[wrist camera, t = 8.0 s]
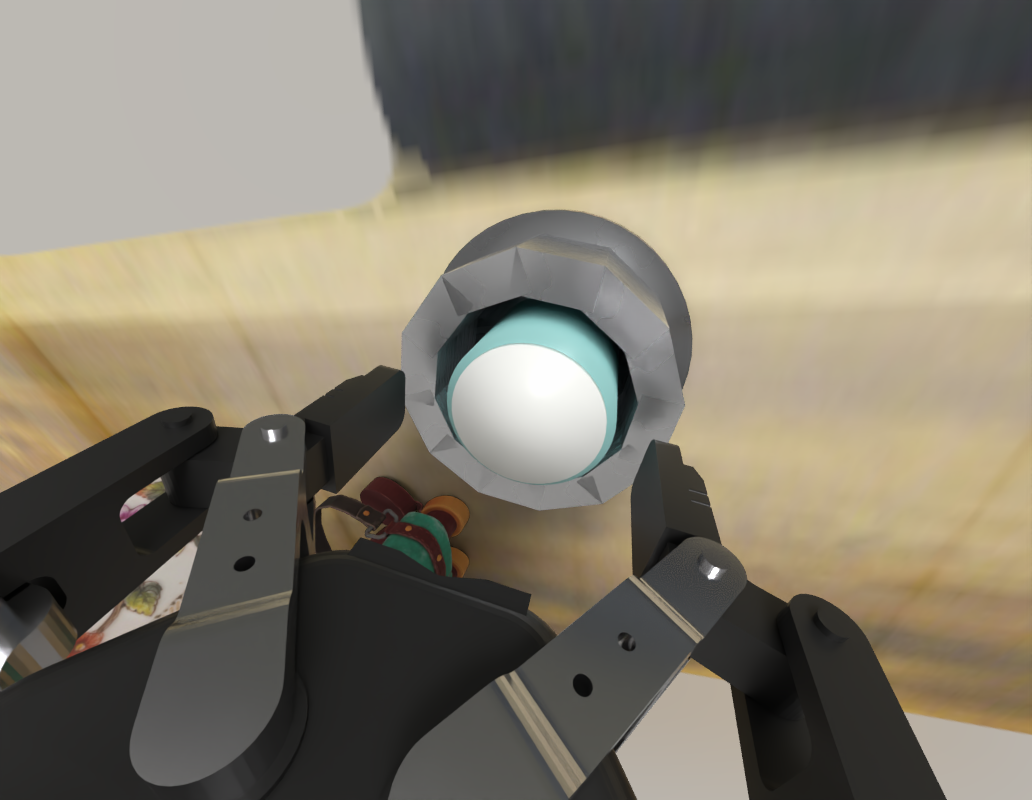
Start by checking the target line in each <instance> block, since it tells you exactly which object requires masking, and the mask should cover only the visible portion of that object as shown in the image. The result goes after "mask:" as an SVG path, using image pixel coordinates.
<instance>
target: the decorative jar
mask: <svg viewBox="0 0 1032 800" xmlns="http://www.w3.org/2000/svg"><path fill="white" fill-rule="evenodd" d="M164 492H166V490H165V488H164V485H163V483H162V480H161V478H158V479H157V480H155V481H154V482H152V483H151V484H149V485H148V486H146V487H145V488H143V489H142V490H140V491H139V492H137V493H136V494H134V495H133V496H131V497H130V498H129V499H128V500H127V501H126V502H125V503H124V505H123V507H122V509H121V511H120V519H121V522H123V521H124V520H126V519H127V518H129V517H130V516H132V515H133V514H134V513H136V512H137V511H139V510H140V509H142V508H143V507H144V506H146V505H147V504H149V503H150V502H151V501H153V500H154V499H156V498H157V497H159V496H160V495H161V494H163V493H164ZM201 534H202V532H200V533H199V534H198V535H197V536H196V537H195V538H194V539H192V540H191V541H190V542H189V543H188V544H187V545H186V546H184V547H183V548H182V549H181V550H180V551H179V552H177V553H176V554H175V555H174V556H173V557H172V558H171V559H169V560H168V561H167V562H166V563H165V564H164V565H162V566H161V567H160V568H159V569H158V570H157V571H156V572H154V573H153V574H152V575H151V576H150V577H149V578H148V579H146V580H145V581H144V582H143V583H142V584H141V585H139V586H138V587H137V588H136V589H135V590H134V591H133V592H131V593H130V594H129V595H128V596H127V597H126V598H125V599H123V600H122V601H121V602H120V603H119V604H118V605H116V606H115V607H114V608H113V609H112V610H111V611H110V612H108V613H107V614H106V615H105V616H104V617H103V618H102V619H100V620H99V621H98V622H97V623H96V624H95V625H93V626H92V627H91V628H90V629H89V630H88V631H87V632H85V633H84V634H83V635H82V636H81V637H80V638H78V639H77V640H76V643H75V645H74V648H73V649H72V651H71V653H70V654H69V655H68V657H67V658H69V657H71V656H73V655H76V654H78V653H80V652H83V651H85V650H87V649H90V648H92V647H94V646H97V645H99V644H101V643H104V642H106V641H108V640H111V639H113V638H115V637H118V636H120V635H122V634H124V633H127V632H129V631H131V630H134V629H136V628H138V627H141V626H143V625H145V624H148V623H150V622H152V621H155V620H157V619H159V618H162V617H164V616H166V615H169V614H171V613H173V612H176V611H178V610H180V606H181V603H182V599H183V596H184V592H185V589H186V586H187V582H188V579H189V575H190V572H191V568H192V565H193V562H194V558H195V555H196V551H197V548H198V544H199V541H200V538H201Z"/></svg>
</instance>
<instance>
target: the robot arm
mask: <svg viewBox="0 0 1032 800" xmlns="http://www.w3.org/2000/svg"><path fill="white" fill-rule="evenodd" d="M405 382H406V378H405V373H404V372H403V371H401V370H398V369H394V368H390V367H386V366H383V365H380V366H378V367H376V368H375V369H373V370H372V371H371V372H369V373H368V374H366V375H365V376H363V375H361V376H358V377H354V378H351V379H348V380H346V381H344V382H343V383H341V384H340V385H338V386H337V387H335V389H332V390H331V391H329V392H328V393H326V395H325V396H322V397H320V398H319V399H317V400H316V401H314V402H313V403H311V404H310V405H308V406H307V407H305V408H304V409H303V410H301V411H300V412H298V413H297V414H295V415H294V416H293V415H288V414H274V415H268V416H264V417H260V418H258V419H255V420H253V421H251V422H250V423H248V424H247V425H246V426H245V427H244V428H234V427H219V426H216V424H215V421H214V417H213V414H212V413H211V412H210V411H209V410H207V409H204V408H200V407H179V408H173V409H168V410H165V411H162V412H159V413H156V414H154V415H152V416H150V417H148V418H146V419H144V420H142V421H140V422H138V423H136V424H134V425H133V426H131V427H129V428H127V429H125V430H123V431H121V432H119V433H117V434H115V435H113V436H111V437H109V438H107V439H105V440H103V441H101V442H99V443H97V444H95V445H93V446H91V447H89V448H87V449H86V450H84V451H82V452H80V453H78V454H76V455H74V456H72V457H70V458H68V459H66V460H64V461H62V462H60V463H58V464H56V465H54V466H52V467H50V468H48V469H46V470H44V471H42V472H40V473H39V474H37V475H35V476H33V477H31V478H29V479H27V480H25V481H23V482H21V483H19V484H17V485H15V486H13V487H11V488H9V489H7V490H5V491H3V492H1V493H0V800H637V798H636V796H635V794H634V792H633V790H632V788H631V785H630V783H629V781H628V779H627V777H626V775H625V772H624V770H623V768H622V766H621V764H620V762H619V759H618V757H617V755H616V752H617V751H618V749H619V748H620V747H621V746H622V744H623V743H624V742H625V741H626V739H627V738H628V737H629V736H630V734H631V733H632V732H633V730H634V729H635V728H636V727H637V725H638V724H639V723H640V722H641V720H642V719H643V718H644V716H645V715H646V714H647V713H648V711H649V710H650V709H651V708H652V706H653V705H654V704H655V703H656V701H657V700H658V699H659V698H660V696H661V695H662V694H663V693H664V691H665V690H666V689H667V688H668V686H669V685H670V684H671V683H672V681H673V680H674V679H675V678H676V676H677V675H678V674H679V673H680V672H681V670H682V669H683V668H684V667H685V665H686V664H687V663H688V662H689V660H690V659H691V658H693V659H694V660H696V661H697V662H699V663H700V664H702V665H703V666H704V667H706V668H707V669H709V670H710V671H712V672H713V673H715V674H716V675H718V676H719V677H721V678H722V679H724V680H725V681H727V682H729V683H730V685H731V690H732V697H733V703H734V709H735V715H736V721H737V728H738V734H739V740H740V746H741V751H742V757H743V764H744V770H745V776H746V782H747V788H748V794H749V800H947V799H946V797H945V795H944V793H943V791H942V789H941V787H940V785H939V783H938V782H937V779H936V777H935V775H934V773H933V771H932V769H931V767H930V765H929V763H928V761H927V759H926V757H925V755H924V753H923V750H922V749H921V746H920V745H919V743H918V740H917V738H916V737H915V734H914V732H913V730H912V728H911V726H910V725H909V722H908V720H907V718H906V716H905V714H904V712H903V710H902V708H901V706H900V704H899V702H898V700H897V698H896V696H895V694H894V692H893V690H892V688H891V686H890V684H889V682H888V680H887V678H886V675H885V673H884V671H883V669H882V667H881V665H880V663H879V661H878V659H877V657H876V655H875V653H874V651H873V649H872V647H871V645H870V643H869V641H868V639H867V638H866V636H865V634H864V633H863V632H862V630H861V629H860V628H859V627H858V625H857V624H856V623H855V622H854V621H853V620H852V619H851V618H850V617H849V616H848V615H846V614H845V613H844V612H843V611H842V610H840V609H839V608H837V607H836V606H834V605H833V604H831V603H830V602H828V601H826V600H824V599H822V598H819V597H817V596H813V595H809V594H799V595H796V596H794V597H793V598H792V599H791V600H790V601H789V602H788V603H786V602H784V601H782V600H781V599H779V598H777V597H775V596H773V595H772V594H770V593H768V592H766V591H764V590H763V589H761V588H759V587H757V586H756V585H754V584H752V583H751V582H750V581H748V580H747V575H746V571H745V569H744V567H743V565H742V564H741V562H740V561H739V560H738V559H737V557H736V556H735V555H734V554H733V553H732V552H730V551H729V550H728V549H727V548H725V547H724V546H722V544H721V541H720V537H719V534H718V530H717V526H716V523H715V519H714V516H713V512H712V509H711V507H710V502H709V498H708V496H707V491H706V487H705V484H704V480H703V479H702V478H701V477H700V475H699V474H698V473H697V471H696V470H695V469H694V468H693V467H691V466H687V465H684V464H683V461H682V456H681V452H680V448H679V446H677V445H673V444H670V443H666V442H662V441H659V440H655V439H653V440H651V442H650V444H649V446H648V448H647V450H646V453H645V455H644V458H643V460H642V462H641V465H640V467H639V469H638V472H637V474H636V477H635V479H634V482H633V486H632V491H631V528H632V568H633V575H632V576H630V577H629V578H627V579H626V580H625V581H623V582H622V583H621V584H620V585H619V586H617V587H616V588H615V589H614V590H612V591H611V592H610V593H609V594H608V595H606V596H605V597H604V598H603V599H601V600H600V601H599V602H598V603H597V604H595V605H594V606H593V607H592V608H591V609H589V610H588V611H587V612H586V613H584V614H583V615H582V616H581V617H580V618H578V619H577V620H576V621H575V622H573V623H572V624H571V625H570V626H569V627H567V628H566V629H565V630H564V631H562V632H561V633H560V634H559V635H558V636H557V635H556V634H555V632H554V631H553V630H552V629H551V628H550V627H549V626H548V625H547V624H546V623H545V622H544V621H543V620H542V619H540V618H539V617H538V616H537V615H536V614H534V613H533V612H531V611H530V610H528V606H529V602H530V597H531V594H528V593H525V592H522V591H519V590H516V589H513V588H510V587H507V586H504V585H501V584H498V583H495V582H492V581H489V580H483V579H471V578H460V577H448V576H440V575H437V574H435V573H433V572H432V571H430V570H429V569H427V568H426V567H424V566H423V565H421V564H420V563H418V562H417V561H415V560H414V559H412V558H411V557H409V556H408V555H406V554H405V553H403V552H402V551H400V550H397V549H394V548H391V547H388V546H385V545H382V544H379V543H376V542H373V541H370V540H367V539H364V538H360V539H359V540H358V542H357V543H356V544H355V545H354V547H353V548H352V549H351V550H335V551H327V552H321V553H317V554H315V494H316V493H317V492H318V491H319V490H320V489H323V490H326V491H329V492H332V493H335V494H337V493H338V492H339V491H340V490H341V489H342V488H343V487H344V486H345V485H346V483H347V482H348V481H349V480H350V479H351V478H352V477H353V476H354V475H355V474H356V473H357V472H358V471H359V470H360V469H361V468H362V467H363V466H364V465H365V464H366V463H367V462H368V460H369V459H370V458H371V457H372V456H373V455H374V454H375V453H376V452H377V451H378V450H379V449H380V448H381V447H382V446H383V445H384V444H385V443H386V442H387V441H388V440H389V438H390V437H391V436H392V435H393V434H394V433H395V432H396V431H397V430H398V429H399V427H400V426H401V424H402V422H403V419H404V414H405ZM158 478H161V480H162V483H163V485H164V488H165V490H166V492H164V493H163V494H161V495H160V496H159V497H157V498H156V499H154V500H153V501H151V502H150V503H149V504H147V505H146V506H144V507H143V508H142V509H140V510H139V511H137V512H136V513H134V514H133V515H132V516H130V517H129V518H127V519H126V520H124V521H123V522H121V519H120V511H121V509H122V507H123V505H124V503H125V502H126V501H127V500H128V499H129V498H130V497H131V496H133V495H134V494H136V493H137V492H139V491H140V490H142V489H143V488H145V487H146V486H148V485H149V484H151V483H152V482H154V481H155V480H157V479H158ZM200 532H202V534H201V538H200V541H199V544H198V548H197V551H196V555H195V558H194V562H193V565H192V568H191V572H190V575H189V579H188V582H187V586H186V589H185V592H184V596H183V599H182V603H181V606H180V610H178V611H176V612H173V613H171V614H169V615H166V616H164V617H162V618H159V619H157V620H155V621H152V622H150V623H148V624H145V625H143V626H141V627H138V628H136V629H134V630H131V631H129V632H127V633H124V634H122V635H120V636H118V637H115V638H113V639H111V640H108V641H106V642H104V643H101V644H99V645H97V646H94V647H92V648H90V649H87V650H85V651H83V652H80V653H78V654H76V655H73V656H71V657H69V658H67V657H68V655H69V654H70V653H71V651H72V649H73V648H74V645H75V643H76V640H77V639H78V638H80V637H81V636H82V635H83V634H84V633H85V632H87V631H88V630H89V629H90V628H91V627H92V626H93V625H95V624H96V623H97V622H98V621H99V620H100V619H102V618H103V617H104V616H105V615H106V614H107V613H108V612H110V611H111V610H112V609H113V608H114V607H115V606H116V605H118V604H119V603H120V602H121V601H122V600H123V599H125V598H126V597H127V596H128V595H129V594H130V593H131V592H133V591H134V590H135V589H136V588H137V587H138V586H139V585H141V584H142V583H143V582H144V581H145V580H146V579H148V578H149V577H150V576H151V575H152V574H153V573H154V572H156V571H157V570H158V569H159V568H160V567H161V566H162V565H164V564H165V563H166V562H167V561H168V560H169V559H171V558H172V557H173V556H174V555H175V554H176V553H177V552H179V551H180V550H181V549H182V548H183V547H184V546H186V545H187V544H188V543H189V542H190V541H191V540H192V539H194V538H195V537H196V536H197V535H198V534H199V533H200Z"/></svg>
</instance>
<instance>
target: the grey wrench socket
mask: <svg viewBox="0 0 1032 800" xmlns="http://www.w3.org/2000/svg"><path fill="white" fill-rule="evenodd" d="M527 298H532V299H536V300H540V301H544V302H549V303H553V304H557V305H562V306H566V307H570V308H575V309H579V310H581V311H582V312H583V313H584V314H585V315H587V316H588V317H589V318H590V319H591V320H592V321H593V322H594V323H595V324H596V325H597V326H598V327H599V328H600V329H601V330H602V331H604V332H605V333H606V334H607V335H608V336H609V337H610V338H611V339H612V340H613V341H614V342H615V343H616V344H617V345H618V351H619V366H618V395H617V421H616V431H615V434H614V438H613V441H612V443H611V445H610V448H609V450H608V451H607V453H606V454H605V456H604V457H603V458H602V459H601V461H600V462H599V463H598V464H597V465H596V466H595V467H593V468H592V469H591V470H590V471H588V472H587V473H585V474H583V475H582V476H580V477H577V478H575V479H573V480H570V481H567V482H563V483H558V484H552V485H532V484H525V483H520V482H516V481H513V480H510V479H507V478H504V477H502V476H500V475H498V474H496V473H494V472H492V471H491V470H489V469H487V468H486V467H484V466H483V465H482V464H480V463H479V462H478V461H477V460H476V459H474V458H473V457H472V456H471V455H470V454H469V452H468V451H467V450H466V449H465V448H464V447H463V445H462V444H461V442H460V441H459V439H458V438H457V436H456V434H455V432H454V430H453V427H452V425H451V422H450V419H449V415H448V408H447V392H448V385H449V382H450V379H451V376H452V374H453V372H454V370H455V368H456V366H457V365H458V363H459V362H460V361H461V359H462V358H463V357H464V356H465V355H466V354H467V353H468V352H469V351H470V350H471V349H472V348H473V347H474V346H475V345H476V344H477V343H478V342H479V341H480V340H481V339H482V338H483V337H484V336H485V335H486V334H487V333H488V332H489V331H490V330H491V329H492V328H493V327H494V326H495V325H496V324H497V323H498V322H499V321H500V320H501V319H502V318H503V317H504V316H505V315H506V314H507V313H508V311H509V310H510V309H511V308H513V307H514V306H515V305H517V304H518V303H520V302H521V301H523V300H525V299H527ZM691 356H692V330H691V321H690V316H689V312H688V309H687V305H686V301H685V299H684V296H683V294H682V292H681V289H680V287H679V285H678V283H677V281H676V279H675V278H674V276H673V275H672V273H671V271H670V270H669V268H668V267H667V265H666V263H665V262H664V261H663V260H662V259H661V258H660V256H659V255H658V254H657V253H656V252H655V251H654V249H653V248H652V247H650V246H649V245H648V244H647V243H646V242H645V241H643V240H642V239H641V238H640V237H639V236H638V235H636V234H634V233H633V232H631V231H630V230H628V229H627V228H625V227H623V226H622V225H620V224H617V223H615V222H613V221H611V220H608V219H606V218H604V217H601V216H597V215H594V214H590V213H586V212H581V211H573V210H542V211H536V212H531V213H525V214H521V215H518V216H515V217H512V218H509V219H506V220H503V221H501V222H499V223H497V224H495V225H493V226H491V227H489V228H487V229H486V230H484V231H483V232H482V233H480V234H479V235H477V236H476V237H474V238H473V239H472V240H471V241H470V242H469V243H468V244H466V245H465V246H464V247H463V248H462V249H461V250H460V251H459V252H458V254H457V255H456V256H455V257H454V259H453V260H452V261H451V262H450V264H449V265H448V267H447V269H446V270H445V272H444V274H443V275H441V276H440V278H439V279H438V281H437V282H436V284H435V285H434V287H433V288H432V289H431V291H430V292H429V294H428V295H427V297H426V298H425V300H424V301H423V303H422V304H421V306H420V307H419V309H418V310H417V312H416V313H415V314H414V316H413V317H412V319H411V320H410V322H409V323H408V325H407V326H406V328H405V329H404V331H403V332H402V356H401V371H403V372H404V373H405V378H406V382H405V406H406V408H407V410H408V412H409V414H410V416H411V418H412V420H413V422H414V423H415V425H416V427H417V429H418V431H419V433H420V435H421V437H422V439H423V441H424V443H425V445H426V447H427V449H428V451H429V453H431V454H432V455H433V456H434V457H436V458H437V459H438V460H439V461H440V462H442V463H443V464H444V465H445V466H447V467H448V468H449V469H450V470H452V471H453V472H454V473H455V474H457V475H458V476H459V477H460V478H462V479H463V480H464V481H465V482H466V483H468V484H469V485H470V486H471V487H473V488H474V489H475V490H476V491H478V492H480V493H483V494H486V495H489V496H493V497H496V498H499V499H503V500H506V501H509V502H512V503H516V504H519V505H522V506H525V507H529V508H532V509H535V510H539V511H540V510H549V509H558V508H568V507H577V506H587V505H596V504H603V503H604V502H606V501H607V500H609V499H610V498H612V497H614V496H615V495H617V494H618V493H620V492H621V491H623V490H624V489H626V488H627V487H629V486H630V485H632V484H633V482H634V479H635V477H636V474H637V472H638V469H639V467H640V465H641V462H642V460H643V458H644V455H645V453H646V450H647V448H648V446H649V444H650V442H651V440H653V439H655V440H659V441H662V442H666V443H668V442H669V440H670V438H671V436H672V433H673V431H674V429H675V427H676V425H677V422H678V420H679V418H680V416H681V414H682V411H683V409H684V407H685V402H684V398H683V393H682V389H683V386H684V383H685V380H686V378H687V375H688V371H689V366H690V361H691Z"/></svg>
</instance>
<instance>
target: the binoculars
mask: <svg viewBox="0 0 1032 800" xmlns="http://www.w3.org/2000/svg"><path fill="white" fill-rule="evenodd" d="M360 498H361V502H362V503H361V502H359V501H358V500H356V499H353V498H350V497H347V496H344V495H337V496H332V497H329V498H328V499H327V500H326V501H324V502H323V503H322V504H321V505H320V506H319V507H317V508H316V510H315V553H316V554H317V553H321V552H327V551H332V550H331V548H330V545H329V543H328V541H327V539H326V536H325V533H324V530H323V527H322V524H321V509H322V508H328V507H331V508H333V509H336V510H339V511H342V512H345V513H346V514H348V515H350V516H351V517H353V518H355V519H357V520H358V521H360V522H361V523H363V524H364V525H365V526H366V527H368V528H367V529H366V531H365V536H366V537H368V538H371V540H370V541H373V542H376V543H379V544H382V545H385V546H388V547H391V548H394V549H397V550H400V551H402V552H403V553H405V554H406V555H408V556H409V557H411V558H412V559H414V560H415V561H417V562H418V563H420V564H421V565H423V566H424V567H426V568H427V569H429V570H430V571H432V572H433V573H435V574H437V575H440V576H448V577H460V578H462V577H463V575H464V573H465V571H466V569H467V567H468V565H469V560H468V557H467V556H466V555H465V554H464V553H463V552H462V551H460V550H459V549H456V548H453V547H451V546H450V542H449V539H450V537H454V536H457V535H458V534H460V533H461V531H462V530H463V528H464V526H465V525H466V523H467V521H468V519H469V510H468V508H467V506H466V505H465V504H464V503H463V502H462V501H461V500H459V499H457V498H455V497H452V496H439V497H435V498H433V499H432V500H430V501H429V502H428V503H427V504H426V505H425V506H424V508H423V505H422V503H421V502H418V501H415V500H414V499H413V498H412V497H411V496H410V494H409V493H408V492H407V491H406V490H405V489H404V488H402V487H401V486H400V485H398V484H397V483H395V482H394V481H392V480H390V479H388V478H385V477H377V478H375V479H374V480H373V481H372V482H371V483H370V484H369V485H368V486H367V487H366V488H365V489H364V490H363V491H362V492H361V494H360ZM416 510H419V512H415V511H416ZM381 523H383V524H385V525H387V526H386V527H384V528H383V529H382V530H380V531H379V532H378V533H377V534H376V535H374V534H370V533H369V532H370V531H371V530H372V531H375V530H376V529H377V528H378V527H379V526H380V524H381Z"/></svg>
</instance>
